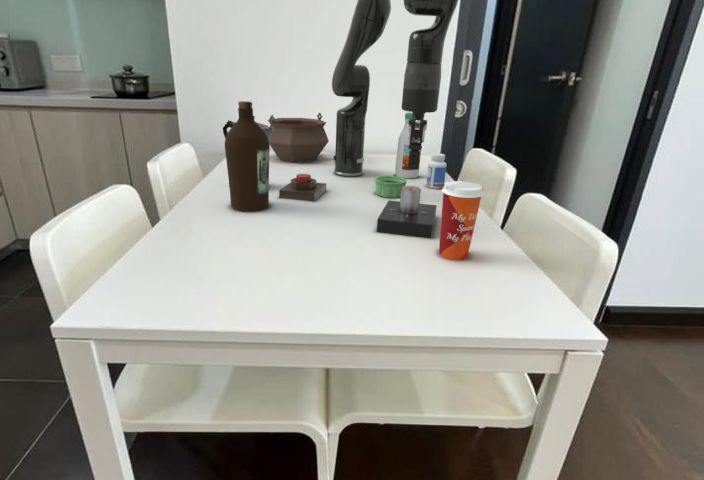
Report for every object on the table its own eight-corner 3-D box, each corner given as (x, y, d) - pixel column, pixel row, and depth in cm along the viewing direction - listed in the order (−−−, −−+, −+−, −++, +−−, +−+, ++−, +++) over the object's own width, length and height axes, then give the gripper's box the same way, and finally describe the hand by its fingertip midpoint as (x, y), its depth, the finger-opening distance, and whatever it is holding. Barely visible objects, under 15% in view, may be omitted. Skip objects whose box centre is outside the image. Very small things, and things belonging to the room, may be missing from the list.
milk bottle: (392, 177, 153) (397, 113, 144) (398, 172, 159) (403, 111, 151) (415, 180, 150) (422, 115, 141) (420, 175, 156) (427, 112, 148)
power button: (299, 179, 131) (299, 173, 130) (312, 180, 130) (312, 174, 129) (294, 182, 127) (294, 176, 126) (308, 183, 126) (308, 177, 125)
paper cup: (450, 264, 88) (461, 192, 82) (425, 250, 94) (434, 182, 88) (481, 258, 91) (494, 188, 86) (455, 245, 98) (465, 179, 92)
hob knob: (400, 207, 110) (402, 183, 108) (419, 209, 109) (421, 185, 107) (398, 213, 106) (400, 188, 104) (417, 215, 106) (420, 190, 103)
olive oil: (221, 210, 114) (213, 102, 104) (239, 199, 124) (233, 99, 113) (262, 214, 112) (258, 104, 102) (276, 202, 122) (274, 101, 111)
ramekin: (369, 196, 131) (370, 180, 129) (379, 188, 138) (380, 174, 136) (400, 200, 128) (402, 184, 126) (408, 192, 135) (410, 177, 133)
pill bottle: (446, 186, 143) (450, 154, 139) (439, 189, 139) (444, 157, 135) (430, 183, 146) (433, 152, 142) (423, 187, 142) (426, 154, 138)
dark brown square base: (293, 187, 136) (293, 174, 135) (326, 190, 134) (326, 177, 132) (279, 198, 126) (278, 183, 124) (314, 201, 124) (314, 187, 122)
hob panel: (387, 211, 118) (388, 199, 116) (435, 216, 115) (436, 204, 114) (376, 231, 103) (377, 218, 102) (430, 238, 101) (432, 224, 100)
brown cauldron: (303, 150, 190) (304, 108, 183) (341, 161, 174) (343, 115, 167) (252, 156, 176) (250, 111, 169) (288, 168, 160) (287, 118, 153)
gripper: (441, 89, 90) (430, 173, 97) (438, 86, 102) (429, 160, 109) (402, 88, 91) (394, 170, 98) (404, 84, 103) (397, 157, 110)
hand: (413, 165), depth 103 cm, fingers open, 8 cm apart
